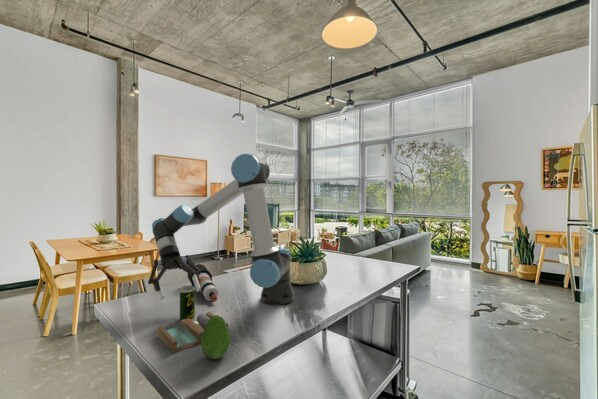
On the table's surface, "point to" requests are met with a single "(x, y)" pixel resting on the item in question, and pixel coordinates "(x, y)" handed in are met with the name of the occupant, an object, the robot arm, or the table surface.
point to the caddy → (183, 334)
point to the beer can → (187, 302)
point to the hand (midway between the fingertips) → (181, 293)
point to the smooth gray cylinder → (203, 319)
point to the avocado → (215, 338)
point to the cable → (205, 284)
